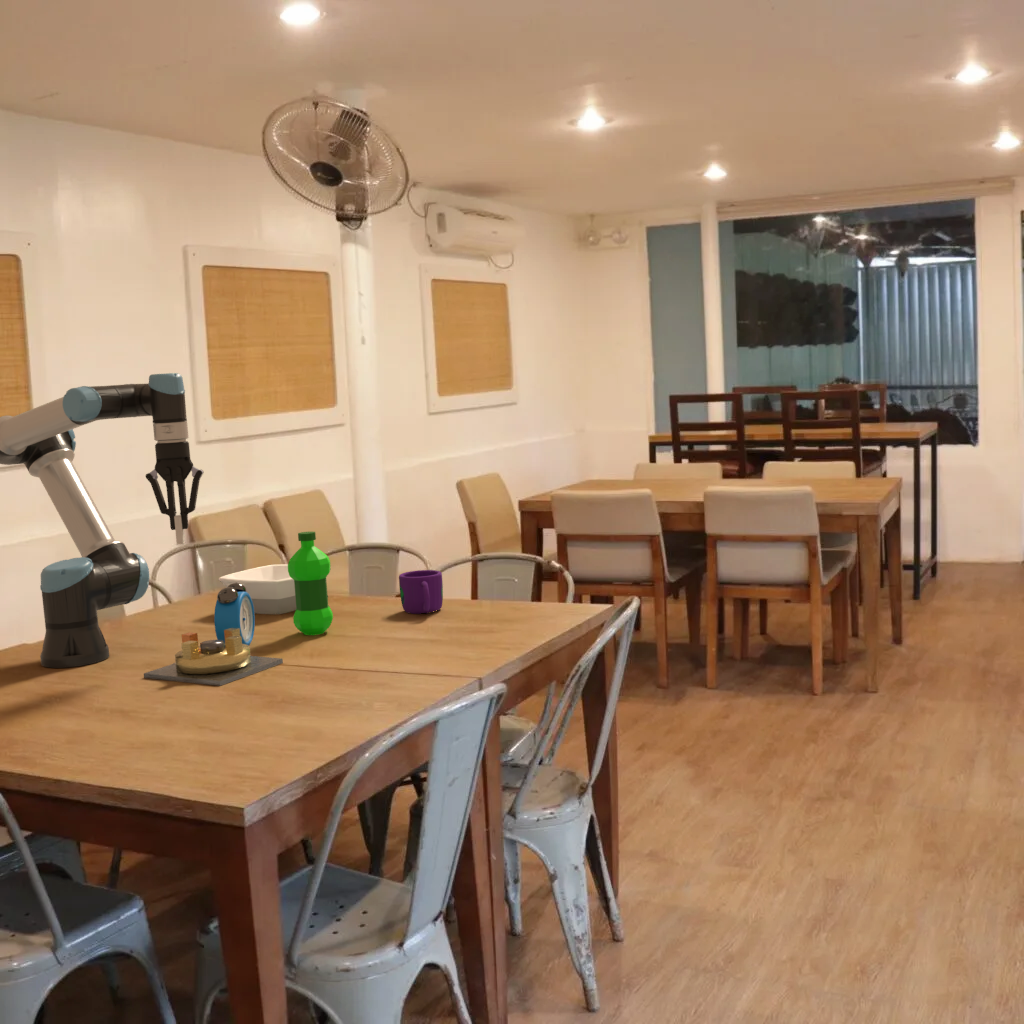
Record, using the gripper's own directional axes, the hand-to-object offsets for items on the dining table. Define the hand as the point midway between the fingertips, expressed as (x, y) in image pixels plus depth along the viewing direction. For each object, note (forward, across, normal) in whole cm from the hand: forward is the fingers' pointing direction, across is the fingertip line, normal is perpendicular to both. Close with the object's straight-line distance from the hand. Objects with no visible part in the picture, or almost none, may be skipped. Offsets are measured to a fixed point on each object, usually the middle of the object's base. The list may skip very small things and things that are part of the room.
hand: (181, 543), depth 282 cm
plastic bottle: (+27, +28, +15) cm, 41 cm away
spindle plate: (+26, +8, -17) cm, 32 cm away
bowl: (+27, +15, +52) cm, 60 cm away
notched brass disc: (+25, +8, -17) cm, 31 cm away
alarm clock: (+27, +10, +5) cm, 29 cm away
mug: (+27, +55, +30) cm, 68 cm away
